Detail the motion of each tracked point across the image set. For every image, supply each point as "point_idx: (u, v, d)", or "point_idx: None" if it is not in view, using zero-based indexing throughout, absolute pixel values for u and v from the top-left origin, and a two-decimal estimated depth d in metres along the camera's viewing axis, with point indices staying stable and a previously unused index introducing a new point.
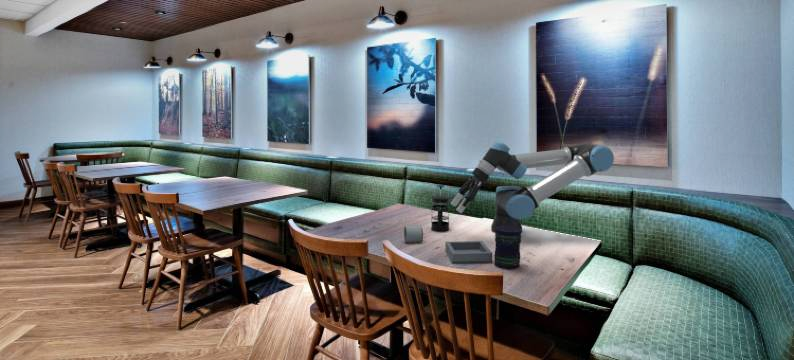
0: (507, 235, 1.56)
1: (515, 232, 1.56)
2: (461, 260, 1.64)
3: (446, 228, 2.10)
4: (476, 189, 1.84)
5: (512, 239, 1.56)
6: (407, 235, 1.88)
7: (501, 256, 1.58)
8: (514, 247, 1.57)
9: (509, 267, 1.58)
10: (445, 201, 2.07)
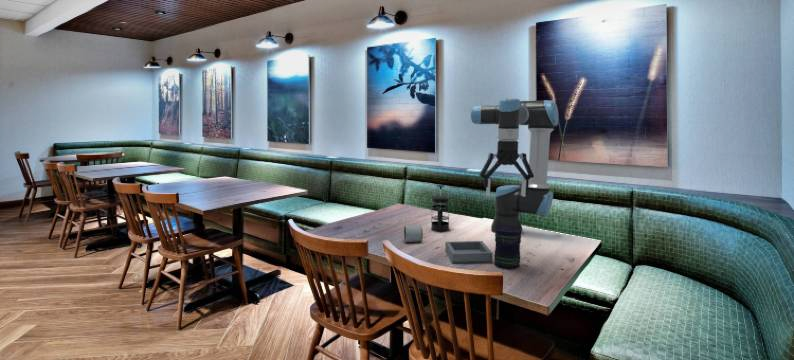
0: (507, 235, 1.56)
1: (515, 232, 1.56)
2: (461, 260, 1.64)
3: (446, 228, 2.10)
4: None
5: (512, 239, 1.56)
6: (407, 235, 1.89)
7: (501, 256, 1.58)
8: (514, 247, 1.57)
9: (509, 267, 1.58)
10: (445, 201, 2.07)
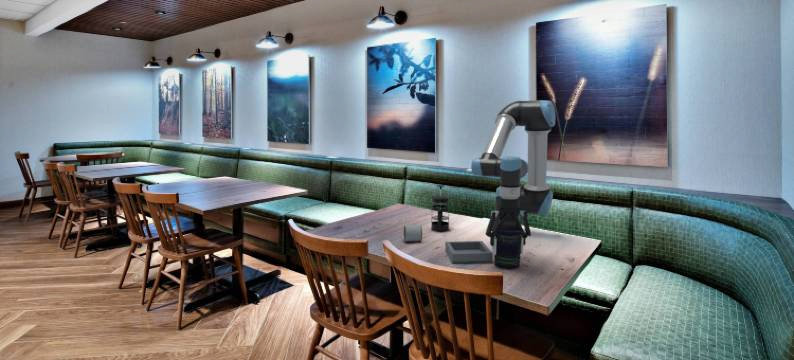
0: (507, 235, 1.56)
1: (515, 232, 1.56)
2: (461, 260, 1.64)
3: (446, 228, 2.10)
4: None
5: (512, 239, 1.56)
6: (406, 234, 1.89)
7: (501, 256, 1.58)
8: (514, 247, 1.57)
9: (509, 267, 1.58)
10: (445, 201, 2.07)
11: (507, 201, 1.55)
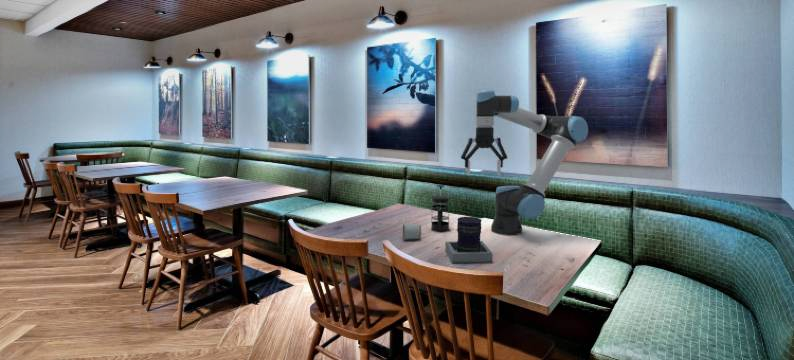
0: (467, 226, 1.66)
1: (474, 223, 1.66)
2: (461, 260, 1.64)
3: (446, 228, 2.10)
4: None
5: (472, 229, 1.66)
6: (405, 232, 1.92)
7: (462, 246, 1.68)
8: (474, 237, 1.67)
9: None
10: (445, 201, 2.07)
11: (482, 129, 1.77)
